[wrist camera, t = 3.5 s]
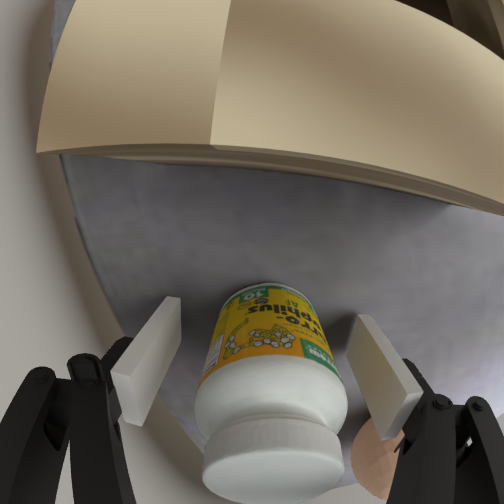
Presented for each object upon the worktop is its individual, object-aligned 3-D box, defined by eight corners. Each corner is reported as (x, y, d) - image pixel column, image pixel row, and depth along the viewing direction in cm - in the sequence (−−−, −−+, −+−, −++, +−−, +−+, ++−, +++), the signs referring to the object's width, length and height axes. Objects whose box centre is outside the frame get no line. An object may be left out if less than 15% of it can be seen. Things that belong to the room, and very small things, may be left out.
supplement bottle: (205, 344, 15) (159, 490, 6) (240, 263, 14) (203, 406, 5) (290, 373, 16) (305, 517, 6) (334, 301, 14) (406, 443, 5)
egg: (326, 422, 17) (344, 512, 9) (404, 371, 15) (453, 454, 8) (363, 450, 18) (383, 520, 10) (428, 408, 17) (465, 474, 9)
